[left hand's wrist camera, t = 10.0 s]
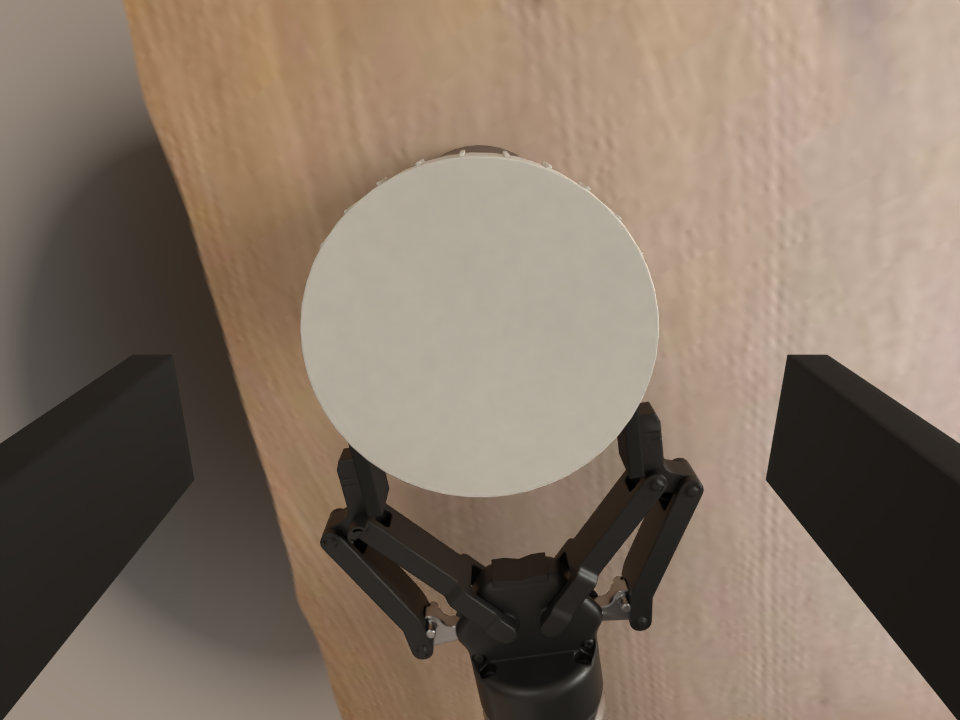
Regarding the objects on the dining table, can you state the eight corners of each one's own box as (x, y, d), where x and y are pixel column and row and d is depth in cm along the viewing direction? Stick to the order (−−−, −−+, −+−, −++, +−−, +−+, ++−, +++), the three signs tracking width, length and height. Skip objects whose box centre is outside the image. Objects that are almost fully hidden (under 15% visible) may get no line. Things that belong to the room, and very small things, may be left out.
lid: (315, 454, 20) (299, 488, 19) (314, 134, 17) (293, 135, 15) (615, 475, 21) (629, 511, 19) (670, 165, 17) (693, 170, 16)
